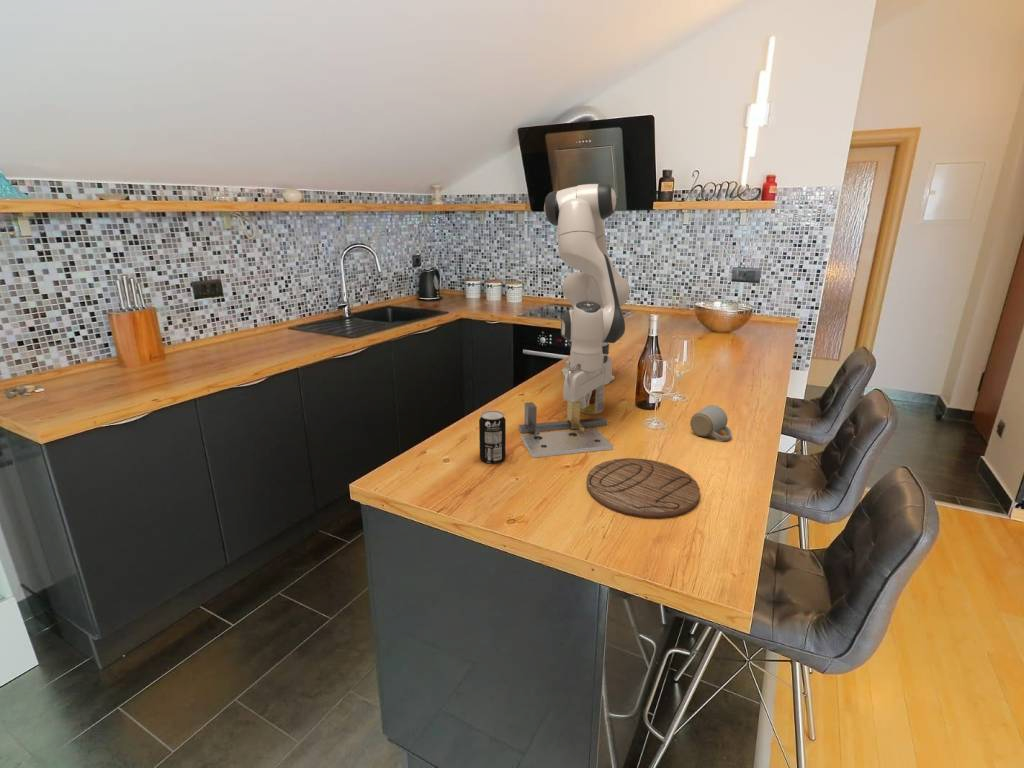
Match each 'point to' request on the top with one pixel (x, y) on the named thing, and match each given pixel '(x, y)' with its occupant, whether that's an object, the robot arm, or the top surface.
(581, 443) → the bolt plate
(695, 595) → the top surface
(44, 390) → the top surface
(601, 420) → the rail
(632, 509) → the trivet
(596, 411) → the canned food
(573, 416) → the sliding leg
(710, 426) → the ceramic mug
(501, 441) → the beverage can
